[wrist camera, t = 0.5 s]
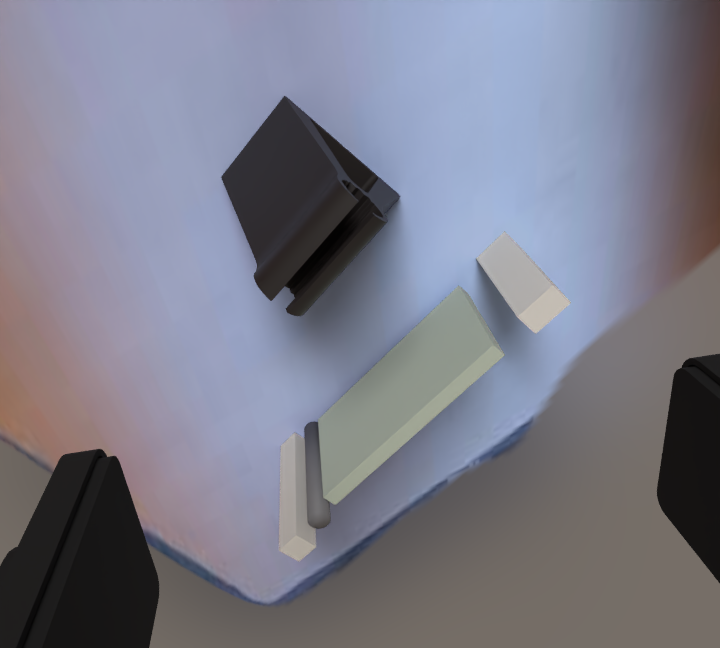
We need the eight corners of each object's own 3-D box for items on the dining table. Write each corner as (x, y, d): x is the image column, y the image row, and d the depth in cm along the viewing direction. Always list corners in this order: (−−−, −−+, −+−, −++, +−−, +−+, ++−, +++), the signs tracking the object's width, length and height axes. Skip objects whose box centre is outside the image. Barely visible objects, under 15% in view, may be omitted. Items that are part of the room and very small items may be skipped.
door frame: (504, 231, 41) (563, 296, 32) (520, 246, 41) (582, 315, 32) (280, 445, 47) (278, 550, 38) (297, 456, 48) (298, 561, 39)
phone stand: (399, 195, 39) (440, 270, 28) (336, 264, 41) (352, 360, 30) (285, 94, 36) (283, 137, 25) (221, 174, 37) (194, 246, 27)
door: (314, 440, 47) (319, 531, 39) (300, 430, 46) (302, 521, 38) (469, 294, 42) (511, 363, 34) (455, 281, 42) (494, 349, 34)
